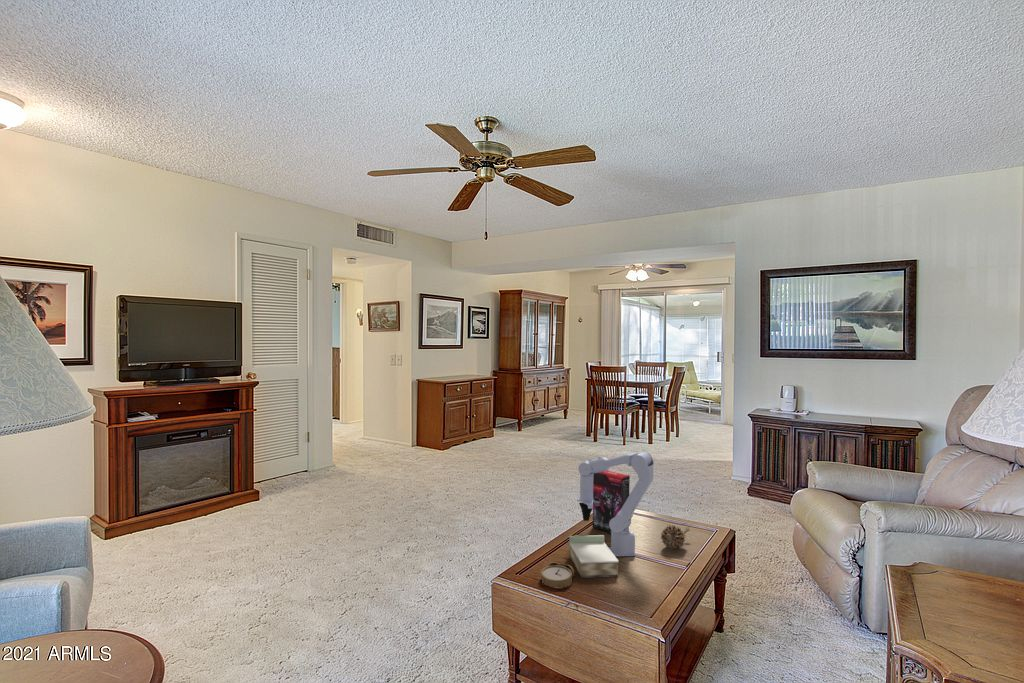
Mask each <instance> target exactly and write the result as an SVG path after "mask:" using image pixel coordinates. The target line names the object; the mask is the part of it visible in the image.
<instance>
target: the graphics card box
mask: <svg viewBox="0 0 1024 683" xmlns="http://www.w3.org/2000/svg"><path fill="white" fill-rule="evenodd" d="M630 477H631V475H630V474H629V475H628V474H623V473H619V472H615V471H611V470H607V471H603V472H598V473H594V475H593V499H594V501H593V506H594V508H593V509H592V526H591V527H592V528H594V529H597V530H600V531H603V532H606V533H609V534H611V529H610V527H609V522H610V520H611V519H612V518H614V517H615V516H616V515H617V513H618V512H619V511H620V510H621V508H622V507H623V505H624V503H625V502H626V500H627V498H628V497H629V495H630V485H631V484H630ZM628 529H629V530H630V526H629V527H628Z"/></svg>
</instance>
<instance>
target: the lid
mask: <svg viewBox="0 0 1024 683" xmlns="http://www.w3.org/2000/svg"><path fill="white" fill-rule="evenodd" d="M568 543H569V552H570V551H571V547H572V549H573V551H574V552H575V554H576V556H577V558H578V559H579V561H580V563H581V564H591V563H618V564H619V563H620V562H619V559H618V558H617V556H614V554H613V553H612V552H611V550H610V549H609V548H610V547H608V545H607V544H606V543H605V535H604V534H598V535H597V534H596V535H594V534H593V535H590V534H588V535H587V534H586V535H569V542H568Z"/></svg>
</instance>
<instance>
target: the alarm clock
mask: <svg viewBox="0 0 1024 683" xmlns="http://www.w3.org/2000/svg"><path fill="white" fill-rule="evenodd" d="M574 575H575V570H574V568H573V566H571V565H570V564H566V563H558V562H556V561H552V562H550V563H549V564H548V565H547V566H545V567H543V568H542V569H541V571H540V576H541V578H540V581H541V580H542V582H541V584H543V583H544V584H546V585H549V586H552V587H566V588H568V587H570V586H571V585H572V584H573V583H572V582H573V577H574ZM544 584H543V585H544ZM567 586H568V587H567Z"/></svg>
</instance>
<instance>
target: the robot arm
mask: <svg viewBox="0 0 1024 683" xmlns="http://www.w3.org/2000/svg"><path fill="white" fill-rule="evenodd" d="M654 463H655V461H654V459H653V456H652V454H650V452H647V451H646V450H645V451H641V452H639V451H637V452H631V453H630V452H629V453H627V454H625V453H624V454H621V455H618V456H615V457H611V458H608V457H605V456H602V455H601V456H598V457H597V458H595V459H592V458H591V459H588V460H586V461H584V462H581V463H580V464H579V465H578V468H577V469H578V473H579V474H580V479H579V480H580V481H579V483H580V484H579V498H577V499H576V500H577V502H579V503H578V504H579V506H580V509H581V515H582V519H583V521H584V522H589V521H590V517H591V513H592V512H593V508H594V506H593V501H594V499H593V476H594V473H598V472H603V471H610V470H609V469H610V468H611V467H615V466H620V465H624V464H626V465H627V466H628V467H632V469H633V470H634V471H635V473H636V475H637V477H638V480H637V482H636V484H635V485H634V487H633V488H632V490H631V492H629V497H628V498H627V500H626V502H625V503H624V505H623V507H622V508H621V510H620V511H619V512H618V513H617V515H616V516H615V517H614V518H612V519H611V520H610V522H609V527H610V529H611V533H610V534H611V537H610V547H608V548H609V549H610V550H611V552H612V553H613V554H614V556H615V557H635V556H636V537H635V533H634V531H633V530H630V526H631V523H632V518H633V517H634V512H635V510H636V509H637V507H638V506H639V504H640V502H641V501H642V499H643V497H644V496H645V494H646V492H647V491H648V489H649V488H650V486H651V484H652V482H653V481H654ZM628 527H629V529H628Z"/></svg>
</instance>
